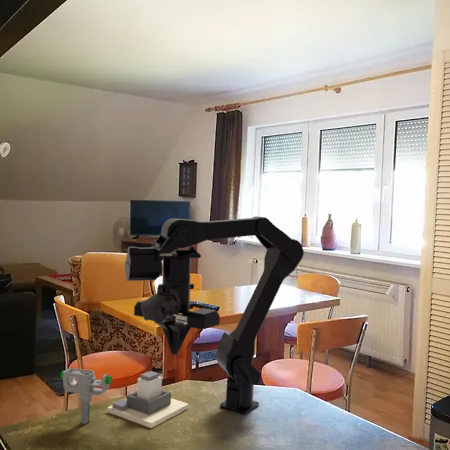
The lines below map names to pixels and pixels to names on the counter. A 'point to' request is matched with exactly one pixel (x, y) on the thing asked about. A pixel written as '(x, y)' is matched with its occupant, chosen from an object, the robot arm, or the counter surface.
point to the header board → (148, 409)
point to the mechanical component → (84, 387)
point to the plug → (149, 386)
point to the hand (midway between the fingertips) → (174, 354)
